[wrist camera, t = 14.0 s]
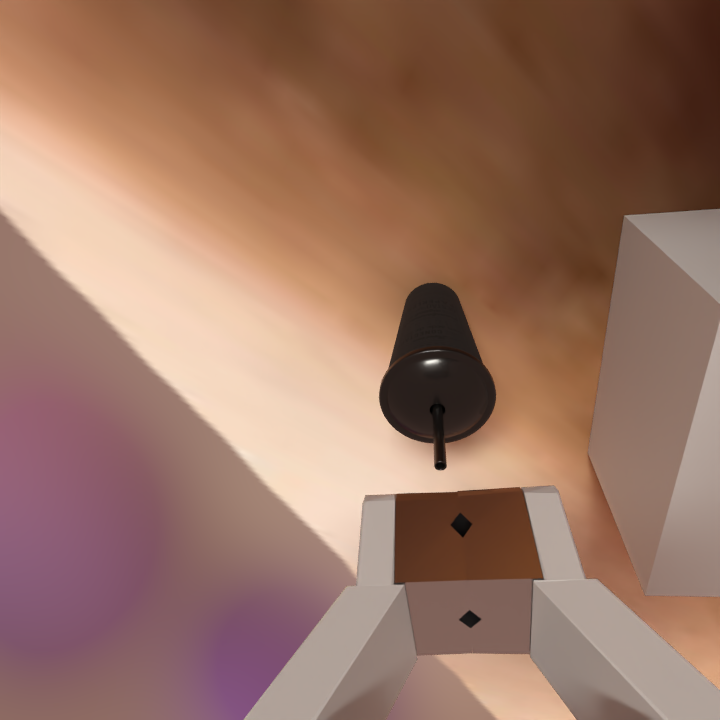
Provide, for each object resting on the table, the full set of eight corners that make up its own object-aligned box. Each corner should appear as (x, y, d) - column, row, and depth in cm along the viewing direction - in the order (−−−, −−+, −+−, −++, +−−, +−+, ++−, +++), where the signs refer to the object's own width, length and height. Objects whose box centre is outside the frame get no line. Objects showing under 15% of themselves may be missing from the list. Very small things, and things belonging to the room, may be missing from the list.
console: (773, 204, 40) (953, 296, 27) (701, 450, 53) (799, 598, 39) (624, 215, 42) (723, 307, 28) (587, 452, 54) (644, 595, 41)
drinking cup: (421, 249, 45) (425, 387, 28) (495, 297, 46) (540, 455, 29) (371, 317, 48) (347, 475, 31) (440, 359, 50) (453, 531, 33)
